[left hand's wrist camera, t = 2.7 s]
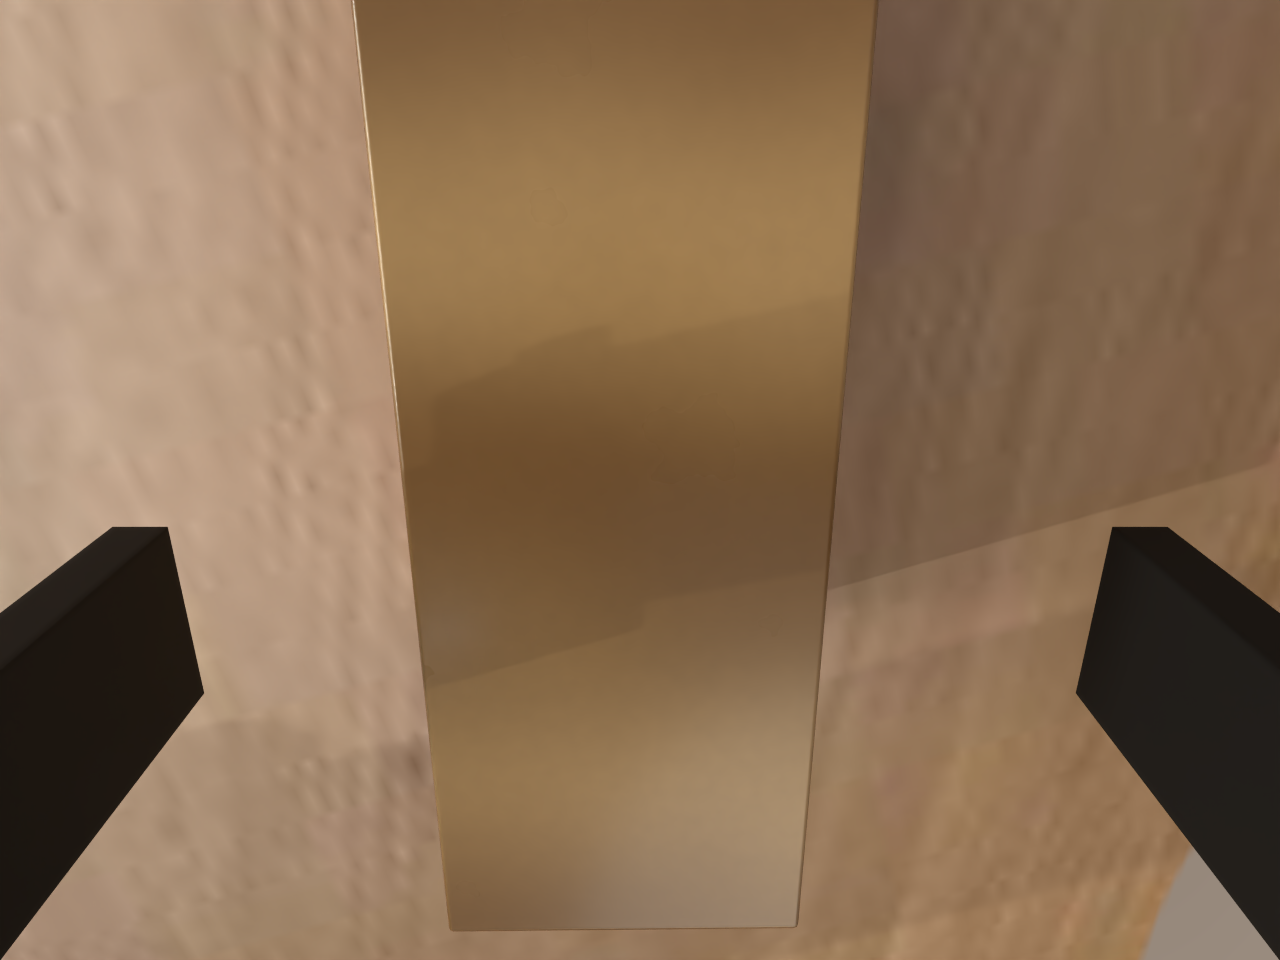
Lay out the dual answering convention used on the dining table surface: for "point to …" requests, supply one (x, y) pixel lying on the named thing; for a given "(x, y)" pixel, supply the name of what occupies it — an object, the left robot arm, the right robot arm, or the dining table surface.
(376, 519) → the dining table surface
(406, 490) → the bar
